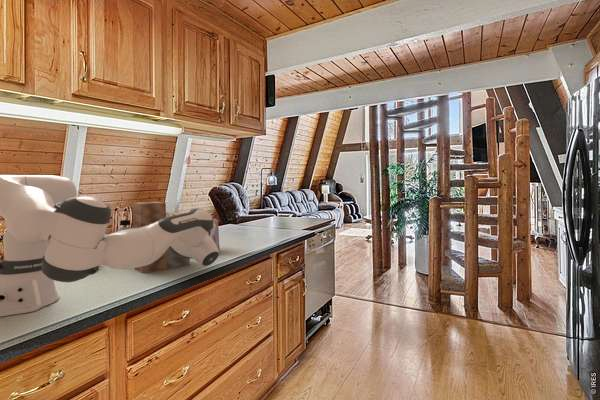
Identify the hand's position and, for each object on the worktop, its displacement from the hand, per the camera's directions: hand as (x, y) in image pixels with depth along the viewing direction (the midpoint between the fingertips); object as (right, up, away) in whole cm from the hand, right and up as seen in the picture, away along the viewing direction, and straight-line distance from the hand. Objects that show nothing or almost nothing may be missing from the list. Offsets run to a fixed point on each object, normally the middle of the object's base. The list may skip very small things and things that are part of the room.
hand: (181, 213), depth 141 cm
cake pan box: (0, -22, +36) cm, 42 cm away
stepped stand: (-10, -23, +5) cm, 26 cm away
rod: (-4, -3, +5) cm, 7 cm away
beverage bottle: (-27, -23, +7) cm, 36 cm away
